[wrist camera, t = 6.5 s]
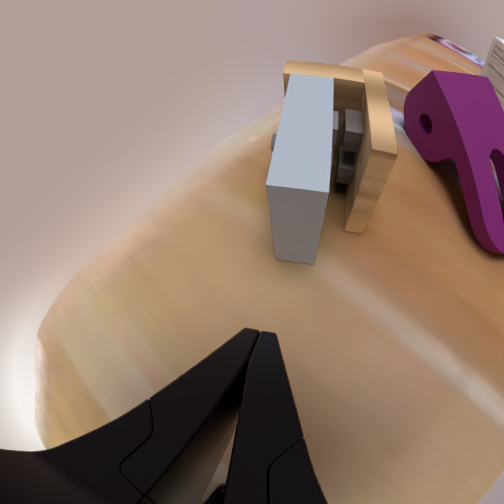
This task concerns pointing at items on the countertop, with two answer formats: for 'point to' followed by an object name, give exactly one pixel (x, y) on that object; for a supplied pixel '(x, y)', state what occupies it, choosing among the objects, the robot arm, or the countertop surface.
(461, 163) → the mounting bracket
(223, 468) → the countertop surface
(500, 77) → the supplement box
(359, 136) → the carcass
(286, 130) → the pale grey oblong block
